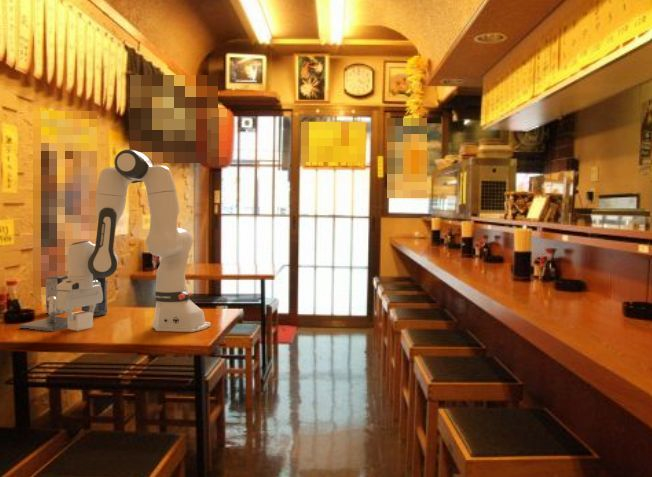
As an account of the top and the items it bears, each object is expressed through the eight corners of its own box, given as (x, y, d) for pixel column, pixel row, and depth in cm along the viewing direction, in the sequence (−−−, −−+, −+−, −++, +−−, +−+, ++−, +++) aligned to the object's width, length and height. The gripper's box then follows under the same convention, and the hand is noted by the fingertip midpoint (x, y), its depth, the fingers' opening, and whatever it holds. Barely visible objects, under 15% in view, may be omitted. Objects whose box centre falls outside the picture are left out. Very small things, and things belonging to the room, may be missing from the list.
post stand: (84, 322, 202) (84, 294, 202) (52, 331, 187) (51, 301, 186) (53, 320, 207) (53, 292, 206) (19, 328, 192) (18, 299, 191)
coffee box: (61, 314, 220) (60, 278, 219) (45, 314, 219) (45, 278, 218) (69, 310, 229) (68, 275, 228) (55, 310, 228) (54, 275, 227)
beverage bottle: (95, 318, 210) (93, 260, 209) (75, 315, 217) (74, 258, 215) (115, 314, 219) (114, 258, 218) (96, 311, 225) (95, 256, 224)
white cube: (83, 325, 197) (82, 310, 197) (93, 327, 194) (92, 311, 194) (67, 328, 192) (67, 312, 192) (77, 330, 189) (77, 314, 188)
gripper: (93, 279, 203) (94, 312, 203) (52, 286, 183) (53, 323, 184) (106, 279, 201) (107, 313, 202) (66, 286, 181) (67, 324, 182)
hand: (81, 318), depth 193 cm, fingers open, 8 cm apart
